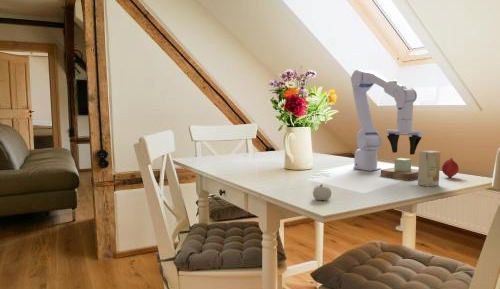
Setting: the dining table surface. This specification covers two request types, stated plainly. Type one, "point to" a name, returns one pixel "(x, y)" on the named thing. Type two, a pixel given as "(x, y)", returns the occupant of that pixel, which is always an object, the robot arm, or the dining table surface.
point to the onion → (450, 168)
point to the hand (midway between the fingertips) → (403, 153)
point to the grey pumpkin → (322, 192)
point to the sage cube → (402, 164)
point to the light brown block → (400, 174)
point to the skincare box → (429, 168)
